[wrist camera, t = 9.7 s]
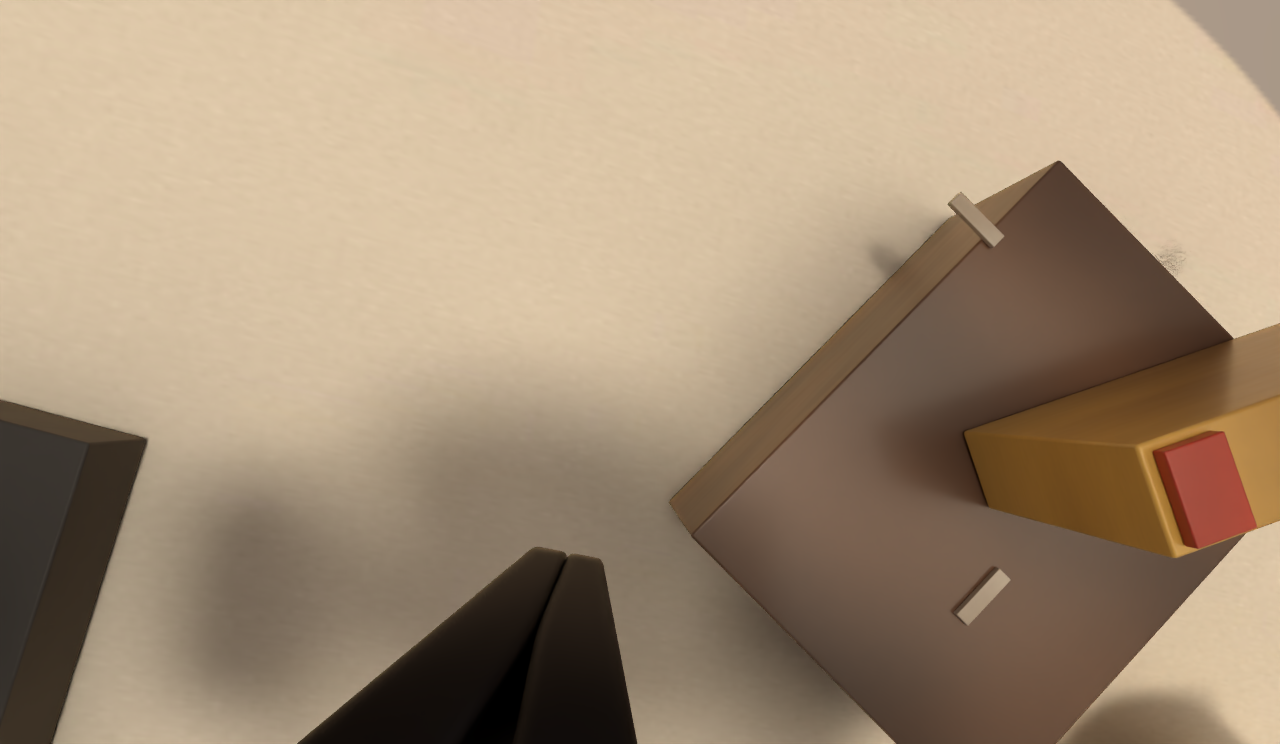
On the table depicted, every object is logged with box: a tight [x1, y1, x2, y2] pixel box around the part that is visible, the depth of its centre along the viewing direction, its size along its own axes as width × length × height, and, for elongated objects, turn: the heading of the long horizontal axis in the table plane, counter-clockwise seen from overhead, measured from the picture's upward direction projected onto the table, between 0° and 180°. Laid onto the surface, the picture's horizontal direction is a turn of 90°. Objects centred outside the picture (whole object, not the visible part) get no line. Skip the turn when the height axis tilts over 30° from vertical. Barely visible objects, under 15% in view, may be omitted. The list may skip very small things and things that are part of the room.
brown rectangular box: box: [669, 161, 1246, 744], centre depth 18 cm, size 16×13×5 cm
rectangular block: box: [964, 323, 1280, 558], centre depth 13 cm, size 9×2×5 cm, turn 108°
